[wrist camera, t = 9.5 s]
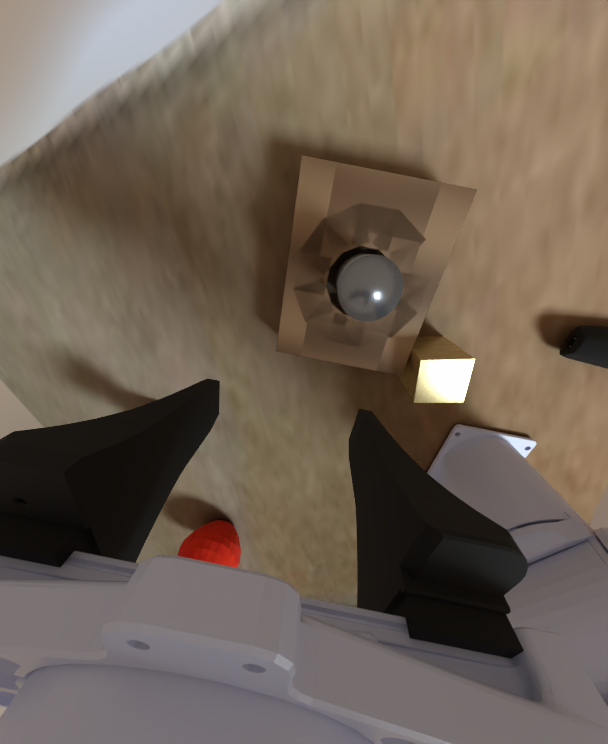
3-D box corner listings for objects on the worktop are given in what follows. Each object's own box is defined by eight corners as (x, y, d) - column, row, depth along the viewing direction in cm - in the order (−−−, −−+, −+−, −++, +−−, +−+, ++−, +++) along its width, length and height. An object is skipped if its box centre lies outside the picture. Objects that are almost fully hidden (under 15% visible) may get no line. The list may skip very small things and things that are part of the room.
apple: (203, 499, 33) (172, 561, 26) (256, 520, 34) (239, 585, 27) (189, 528, 36) (158, 590, 30) (237, 547, 37) (218, 610, 31)
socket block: (392, 360, 22) (401, 375, 19) (282, 338, 22) (276, 350, 19) (452, 200, 16) (477, 189, 13) (306, 171, 16) (302, 155, 14)
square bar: (435, 372, 22) (463, 402, 17) (396, 372, 22) (413, 402, 18) (442, 335, 20) (474, 359, 16) (400, 337, 21) (420, 360, 16)
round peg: (369, 303, 19) (388, 328, 13) (330, 293, 19) (330, 313, 13) (384, 259, 18) (414, 264, 11) (342, 248, 18) (349, 247, 11)
